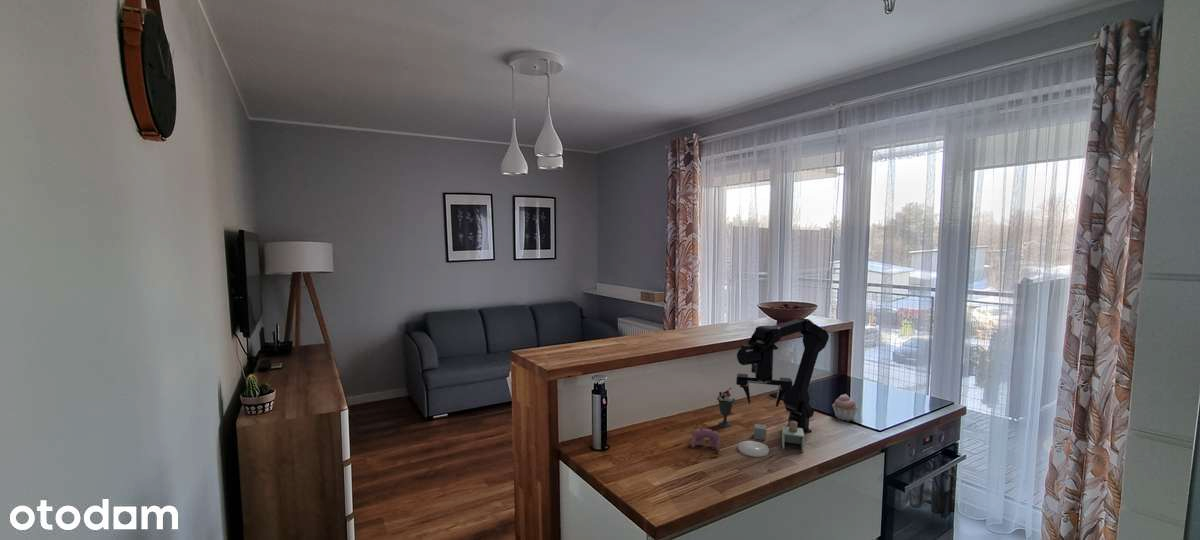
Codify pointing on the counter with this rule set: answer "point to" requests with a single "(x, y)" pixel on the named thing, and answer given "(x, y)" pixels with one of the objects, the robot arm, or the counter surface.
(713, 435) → the video game controller
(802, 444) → the sage camera
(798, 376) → the robot arm
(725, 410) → the sundae
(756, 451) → the saucer
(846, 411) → the cupcake
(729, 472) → the counter surface
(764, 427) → the slate cube
